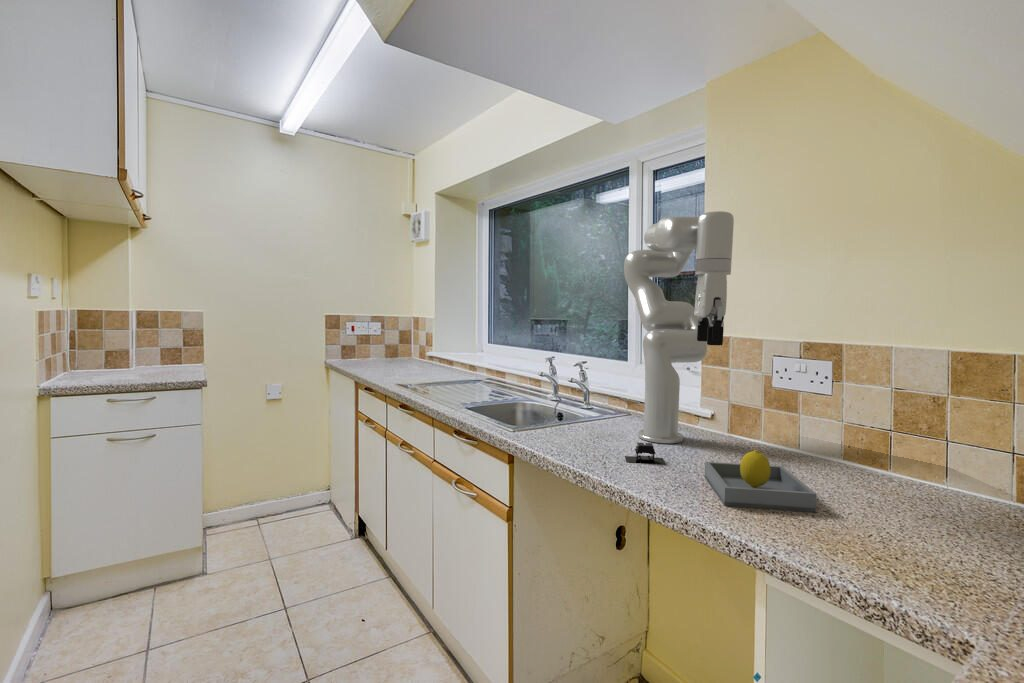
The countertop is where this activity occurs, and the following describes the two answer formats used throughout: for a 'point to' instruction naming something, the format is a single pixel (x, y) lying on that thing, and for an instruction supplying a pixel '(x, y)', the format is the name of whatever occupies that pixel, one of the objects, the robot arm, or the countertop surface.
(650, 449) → the black arched block
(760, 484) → the lemon
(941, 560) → the countertop surface
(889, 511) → the countertop surface
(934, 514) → the countertop surface
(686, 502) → the countertop surface
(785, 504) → the tray
